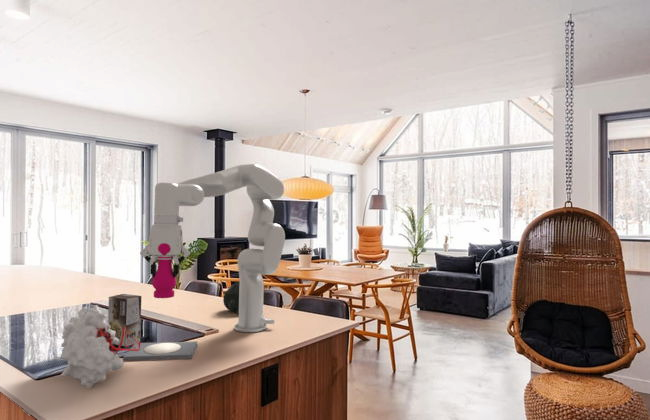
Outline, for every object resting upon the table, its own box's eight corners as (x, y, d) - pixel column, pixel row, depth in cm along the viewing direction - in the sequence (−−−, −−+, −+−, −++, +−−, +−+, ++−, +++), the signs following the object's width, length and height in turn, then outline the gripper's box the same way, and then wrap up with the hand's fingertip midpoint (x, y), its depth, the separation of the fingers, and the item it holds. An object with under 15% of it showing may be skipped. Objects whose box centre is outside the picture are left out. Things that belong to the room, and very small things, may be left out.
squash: (250, 295, 210) (233, 274, 204) (266, 301, 199) (248, 279, 192) (230, 316, 203) (211, 295, 197) (245, 324, 192) (226, 302, 185)
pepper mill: (179, 295, 140) (181, 234, 141) (169, 299, 133) (171, 235, 134) (158, 294, 141) (160, 234, 141) (147, 298, 134) (149, 234, 134)
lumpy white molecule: (134, 393, 122) (97, 332, 134) (162, 347, 118) (120, 287, 129) (63, 418, 105) (26, 345, 117) (91, 364, 101) (51, 294, 112)
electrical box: (141, 342, 147) (142, 295, 147) (125, 347, 141) (126, 298, 141) (122, 338, 151) (124, 293, 151) (106, 343, 145) (108, 296, 145)
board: (197, 344, 145) (197, 340, 145) (191, 358, 132) (191, 353, 132) (135, 346, 142) (135, 342, 142) (123, 360, 128) (123, 356, 128)
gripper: (195, 221, 143) (193, 275, 142) (141, 220, 140) (139, 275, 139) (192, 221, 135) (190, 278, 135) (135, 220, 132) (133, 278, 132)
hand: (164, 276), depth 137 cm, fingers closed on pepper mill, 5 cm apart
